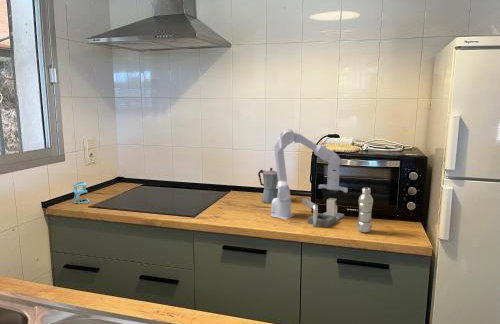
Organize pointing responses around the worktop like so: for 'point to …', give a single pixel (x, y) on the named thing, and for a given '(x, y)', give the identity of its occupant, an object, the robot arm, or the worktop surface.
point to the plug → (331, 207)
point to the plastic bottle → (365, 210)
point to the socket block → (323, 220)
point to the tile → (338, 216)
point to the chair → (79, 192)
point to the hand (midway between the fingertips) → (332, 204)
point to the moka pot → (269, 185)
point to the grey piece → (315, 210)
